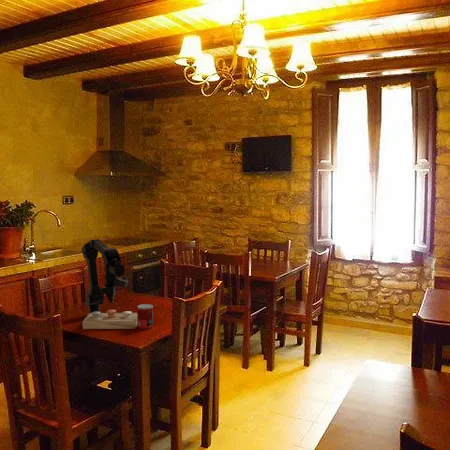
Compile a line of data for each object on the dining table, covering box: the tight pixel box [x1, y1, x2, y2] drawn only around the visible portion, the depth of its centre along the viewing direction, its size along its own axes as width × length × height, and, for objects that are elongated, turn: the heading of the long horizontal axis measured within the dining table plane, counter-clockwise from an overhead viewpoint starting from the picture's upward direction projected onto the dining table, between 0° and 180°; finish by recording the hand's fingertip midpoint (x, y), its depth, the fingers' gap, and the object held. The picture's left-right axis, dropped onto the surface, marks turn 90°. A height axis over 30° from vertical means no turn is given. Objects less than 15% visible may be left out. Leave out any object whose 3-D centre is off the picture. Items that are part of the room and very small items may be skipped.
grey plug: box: [91, 311, 102, 318], centre depth 234 cm, size 5×5×6 cm
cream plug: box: [122, 310, 133, 318], centre depth 235 cm, size 5×5×6 cm
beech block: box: [82, 312, 138, 330], centre depth 235 cm, size 14×26×4 cm, turn 92°
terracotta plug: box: [106, 309, 117, 318], centre depth 234 cm, size 5×5×6 cm
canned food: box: [136, 303, 154, 330], centre depth 230 cm, size 8×8×11 cm
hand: (111, 303), depth 234 cm, fingers closed
